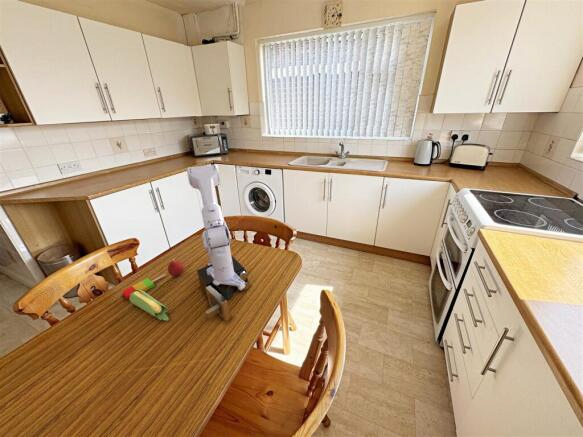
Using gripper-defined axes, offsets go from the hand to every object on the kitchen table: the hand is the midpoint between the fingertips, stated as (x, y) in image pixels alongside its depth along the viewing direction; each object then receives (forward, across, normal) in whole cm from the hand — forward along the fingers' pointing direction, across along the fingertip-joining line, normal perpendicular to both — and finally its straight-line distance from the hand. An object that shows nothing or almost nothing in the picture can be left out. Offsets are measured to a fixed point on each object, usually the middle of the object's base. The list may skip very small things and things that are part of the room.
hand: (229, 298), depth 76 cm
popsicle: (+6, -37, -8) cm, 38 cm away
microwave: (+5, -10, +7) cm, 13 cm away
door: (+5, -3, -5) cm, 8 cm away
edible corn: (+6, -24, -14) cm, 28 cm away
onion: (+6, -32, +2) cm, 33 cm away
